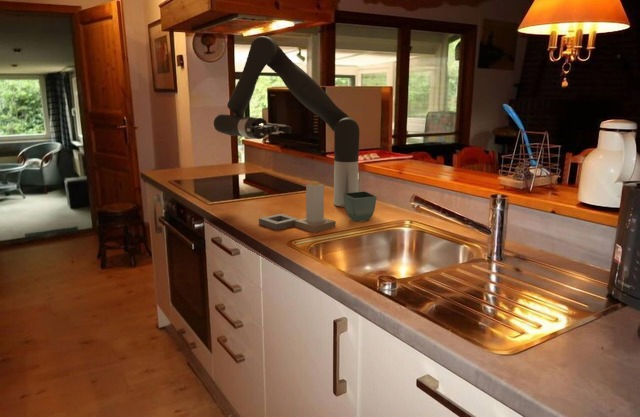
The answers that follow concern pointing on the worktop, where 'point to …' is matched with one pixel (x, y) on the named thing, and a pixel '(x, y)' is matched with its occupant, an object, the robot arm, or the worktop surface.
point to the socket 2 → (314, 225)
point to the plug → (314, 202)
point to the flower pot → (359, 205)
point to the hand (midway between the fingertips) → (280, 130)
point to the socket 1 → (277, 221)
